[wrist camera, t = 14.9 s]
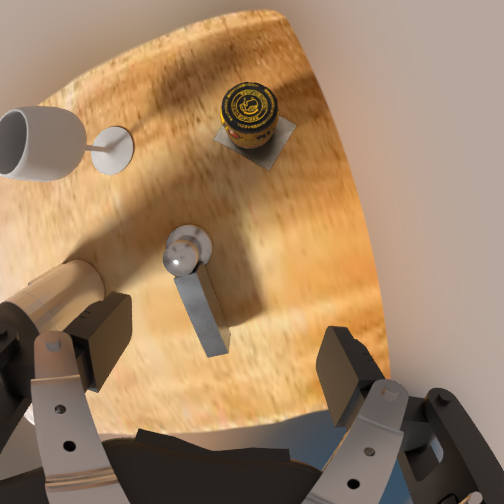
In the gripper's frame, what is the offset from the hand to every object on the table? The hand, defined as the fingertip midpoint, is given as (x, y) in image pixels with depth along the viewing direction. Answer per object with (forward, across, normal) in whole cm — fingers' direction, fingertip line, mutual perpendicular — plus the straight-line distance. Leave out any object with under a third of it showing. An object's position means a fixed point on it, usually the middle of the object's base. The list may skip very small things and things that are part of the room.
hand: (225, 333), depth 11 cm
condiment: (+28, 0, -12) cm, 31 cm away
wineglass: (+29, +20, -8) cm, 36 cm away
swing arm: (+27, +4, +10) cm, 29 cm away
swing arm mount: (+28, +6, +5) cm, 29 cm away
